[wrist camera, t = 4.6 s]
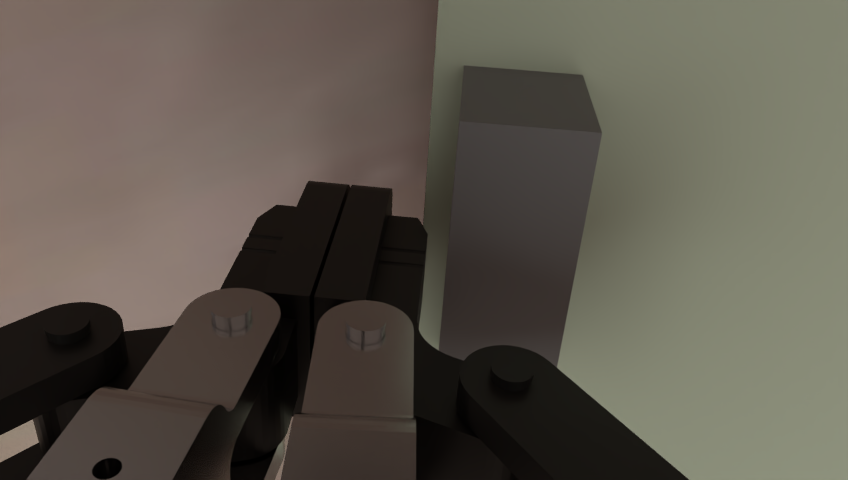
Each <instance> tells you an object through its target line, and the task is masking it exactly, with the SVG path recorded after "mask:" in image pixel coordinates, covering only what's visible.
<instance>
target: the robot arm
mask: <svg viewBox="0 0 848 480" xmlns="http://www.w3.org/2000/svg"><path fill="white" fill-rule="evenodd" d="M391 214H392V189H390V188H380V187H369V186H359V185H352V186H351V188H350V185H347V184H336V183H326V182H315V181H308V183H307V185H306V187H305V189H304V191H303V193H302V196H301V198H300V200H299V202H298V205H297V207H294V206H284V205H276V206H274V207H273V208H271V209H270V210H268V211H267V212H265V213H264V214H263V215H261V216H260V217H258V218H257V220H256V222H255V224H254V226H253V228H252V230H251V231H250V233H249V237H247V239H246V241H245V243H244V245H243V247H242V251H240V252H239V254H238V256H237V258H236V260H235V262H234V264H233V266H232V268H231V270H230V272H229V273H228V275H227V277H226V279H225V281H224V283H223V285H222V287H221V289H220V290H215V291H212V292H209V293H207V294H204V295H202V296H200V297H198V298H197V299H195V300H194V301H192V302H191V303H190V304H189V305H188V306H187V307H186V309H185V310H184V311H183V313H182V314H181V316H180V317H179V318H178V320H177V321H176V323H175V324H174V325H172V326H167V327H161V328H152V329H143V330H134V331H125V332H124V329H123V323H122V319H121V317H120V315H119V314H118V313H117V312H116V311H115V310H113V309H112V308H110V307H107V306H105V305H101V304H97V303H90V302H77V303H68V304H62V305H58V306H54V307H51V308H48V309H45V310H43V311H40V312H38V313H35V314H33V315H30V316H28V317H26V318H23V319H21V320H18V321H16V322H13V323H11V324H8V325H6V326H3V327H1V328H0V435H2V434H4V433H6V432H8V431H10V430H12V429H14V428H16V427H18V426H20V425H22V424H24V423H26V422H28V421H30V420H32V419H33V421H34V425H35V429H36V433H37V437H38V440H39V443H37V444H35V445H33V446H31V447H30V448H28V449H26V450H24V451H22V452H20V453H18V454H16V455H14V456H12V457H10V458H8V459H6V460H4V461H2V462H1V463H0V480H275V478H276V475H277V473H278V470H279V468H280V465H281V463H282V461H283V458H284V454H285V436H286V433H287V431H288V428H289V424H290V421H291V418H292V417H293V420H292V425H291V430H290V435H289V440H288V445H287V450H286V455H285V460H284V465H283V470H282V476H281V480H689V479H688V478H687V477H685V476H684V475H683V474H682V473H681V472H680V471H678V470H677V469H676V468H675V467H674V466H672V465H671V464H670V463H669V462H668V461H667V460H665V459H664V458H663V457H662V456H661V455H659V454H658V453H657V452H656V451H655V450H654V449H652V448H651V447H650V446H649V445H648V444H646V443H645V442H644V441H643V440H642V439H641V438H639V437H638V436H637V435H636V434H635V433H633V432H632V431H631V430H630V429H629V428H628V427H626V426H625V425H624V424H623V423H622V422H620V421H619V420H618V419H617V418H616V417H615V416H613V415H612V414H611V413H610V412H609V411H607V410H606V409H605V408H604V407H603V406H602V405H600V404H599V403H598V402H597V401H596V400H594V399H593V398H592V397H591V396H590V395H589V394H587V393H586V392H585V391H584V390H583V389H581V388H580V387H579V386H578V385H577V384H576V383H574V382H573V381H572V380H571V379H570V378H568V377H567V376H566V375H565V374H564V373H563V372H561V371H560V370H559V369H558V368H557V367H556V366H554V365H553V364H552V363H551V362H550V361H548V360H547V359H546V358H544V357H543V356H541V355H539V354H537V353H536V352H533V351H531V350H528V349H525V348H521V347H517V346H511V345H494V346H488V347H484V348H481V349H478V350H476V351H474V352H473V353H471V354H470V355H469V356H467V358H466V359H465V360H464V361H463V360H460V359H457V358H454V357H452V356H449V355H447V354H444V353H442V352H441V351H439V350H437V349H435V348H434V347H433V346H431V345H430V344H429V343H428V342H427V341H426V340H425V339H424V338H423V336H422V335H421V333H420V331H419V323H420V315H421V307H422V297H423V285H424V273H425V261H426V250H427V238H428V234H427V232H426V230H425V229H424V227H423V225H422V224H421V222H420V221H419V219H418V218H411V217H400V216H391Z"/></svg>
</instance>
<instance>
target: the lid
mask: <svg viewBox="0 0 848 480" xmlns="http://www.w3.org/2000/svg"><path fill="white" fill-rule="evenodd" d="M423 227H424V229H425V230H426V232H427V234H428V238H427V250H426V261H425V273H424V285H423V297H422V307H421V315H420V323H419V331H420V333H421V335H422V336H423V338H424V339H425V340H426V341H427V342H428V343H429V344H430V345H431V346H433V347H434V348H435V349H437V350H439V351H441V352H442V353H444V354H447V355H449V356H452V357H454V358H457V359H460V360H463V361H464V360H465V359H466V358H467V356H469V355H470V354H471V353H473V352H474V351H476V350H478V349H481V348H484V347H488V346H494V345H511V346H517V347H521V348H525V349H528V350H531V351H533V352H536V353H537V354H539V355H541V356H543V357H544V358H546V359H547V360H548V361H550V362H551V363H552V364H553V365H554V366H556V367H557V368H558V369H559V370H560V371H561V372H563V373H564V374H565V375H566V376H567V377H568V378H570V379H571V380H572V381H573V382H574V383H576V384H577V385H578V386H579V387H580V388H581V389H583V390H584V391H585V392H586V393H587V394H589V395H590V396H591V397H592V398H593V399H594V400H596V401H597V402H598V403H599V404H600V405H602V406H603V407H604V408H605V409H606V410H607V411H609V412H610V413H611V414H612V415H613V416H615V417H616V418H617V419H618V420H619V421H620V422H622V423H623V424H624V425H625V426H626V427H628V428H629V429H630V430H631V431H632V432H633V433H635V434H636V435H637V436H638V437H639V438H641V439H642V440H643V441H644V442H645V443H646V444H648V445H649V446H650V447H651V448H652V449H654V450H655V451H656V452H657V453H658V454H659V455H661V456H662V457H663V458H664V459H665V460H667V461H668V462H669V463H670V464H671V465H672V466H674V467H675V468H676V469H677V470H678V471H680V472H681V473H682V474H683V475H684V476H685V477H687V478H688V479H689V480H848V0H439V3H438V18H437V33H436V47H435V62H434V76H433V91H432V105H431V120H430V134H429V149H428V163H427V178H426V193H425V207H424V222H423Z"/></svg>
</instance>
